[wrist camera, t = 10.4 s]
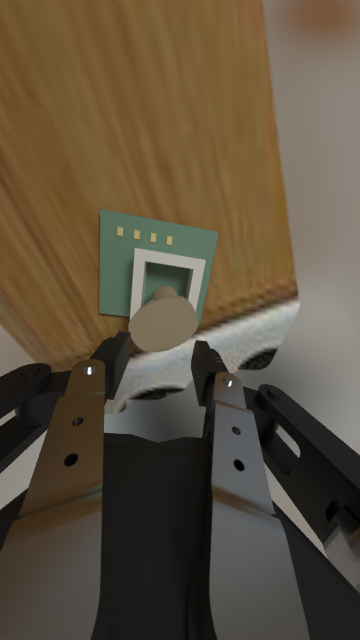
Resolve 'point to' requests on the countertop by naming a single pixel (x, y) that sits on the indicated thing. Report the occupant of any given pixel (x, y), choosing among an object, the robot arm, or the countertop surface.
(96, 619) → the robot arm
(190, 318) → the handle
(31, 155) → the countertop surface
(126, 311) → the board
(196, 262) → the socket
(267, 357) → the countertop surface
